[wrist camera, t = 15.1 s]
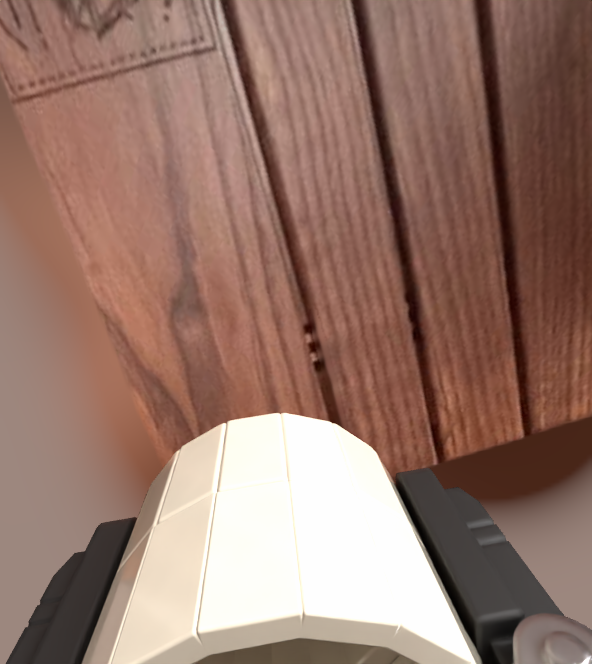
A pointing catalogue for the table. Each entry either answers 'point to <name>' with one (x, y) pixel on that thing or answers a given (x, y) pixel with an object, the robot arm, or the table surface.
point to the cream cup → (277, 559)
